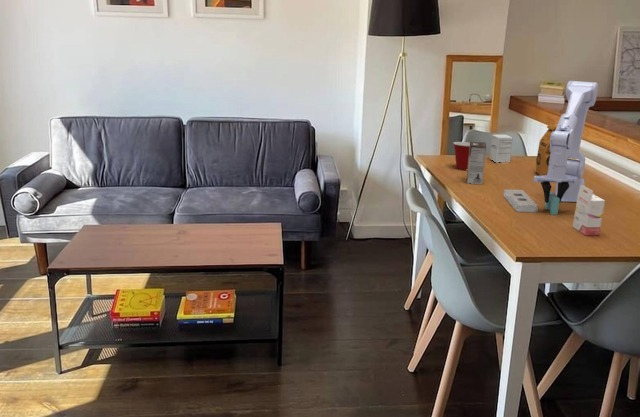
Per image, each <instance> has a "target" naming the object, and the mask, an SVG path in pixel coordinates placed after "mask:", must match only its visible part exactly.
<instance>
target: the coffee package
mask: <svg viewBox="0 0 640 417" xmlns="http://www.w3.org/2000/svg"><path fill="white" fill-rule="evenodd" d="M546 127H547V131H546V132H545V133H544V134H543V136H542V137H541V138H540V140H539V144H538V149H537V157H536V159H535V172H536V173H537V174H538V176H543V175H547V174H548V167H549V160H550V153H551V152H550V137H551V134H552V132H553V131H555V130H556V127H557V125H556V126H555V125H553V124H551V123H550V124H547V126H546Z"/></svg>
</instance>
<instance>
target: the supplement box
mask: <svg viewBox="0 0 640 417" xmlns="http://www.w3.org/2000/svg"><path fill="white" fill-rule="evenodd" d="M491 136H492V137H491V145H490V146H491V147H490V155H489V160H490V159H491V160H493V161H494V162H510V163H511V154H512V145H513V139H514V138H513V137H512V136H510V135H508V134H492V135H491ZM491 160H490V161H491ZM493 161H492V162H493ZM494 162H493V163H494Z"/></svg>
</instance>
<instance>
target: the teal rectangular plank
mask: <svg viewBox="0 0 640 417" xmlns="http://www.w3.org/2000/svg"><path fill="white" fill-rule="evenodd" d="M559 201H560V198H559V197H558V196H556V195H555V193H554V192H553V191H550V194H549V202H548V203H546V202H545V201H544V203H545V204H544V209H545V210H549V214H550V215H551V216H552V215H553V216H554V215H555V216H557V215H558V213H559V208H560V207H559V205H560V203H559ZM560 202H561V201H560Z"/></svg>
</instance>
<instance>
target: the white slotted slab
mask: <svg viewBox="0 0 640 417" xmlns="http://www.w3.org/2000/svg"><path fill="white" fill-rule="evenodd" d="M503 197H504V198H505V199H506V200H507V202H508V203H509V204H510V206H512V208H513V209H514V211H516V212H518V213H538V209H539V208H538V206H539V205H538V204H537V203H536V202H535V201H534V200H533V199H532V198H531V197H530V196H529V195H528V194H527V193H526V192H525V190H523V189H503Z"/></svg>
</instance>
